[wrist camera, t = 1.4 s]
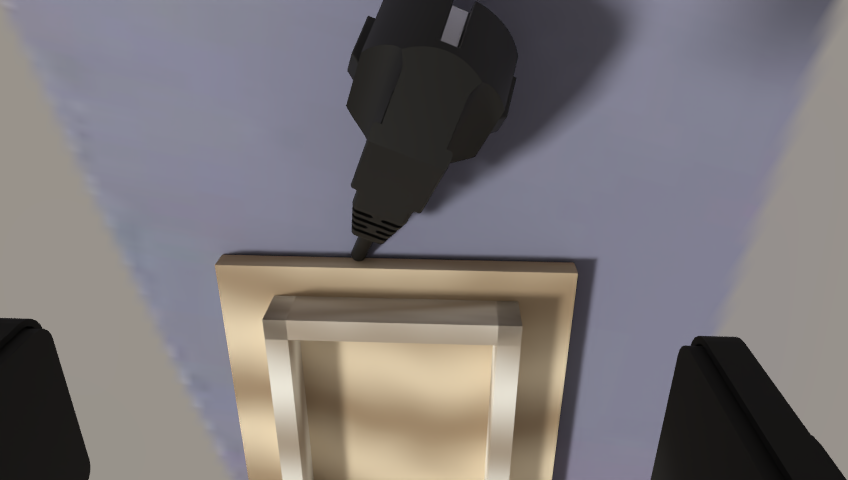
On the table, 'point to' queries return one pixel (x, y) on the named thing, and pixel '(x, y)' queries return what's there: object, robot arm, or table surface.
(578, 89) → the table surface
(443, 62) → the power plug
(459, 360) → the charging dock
